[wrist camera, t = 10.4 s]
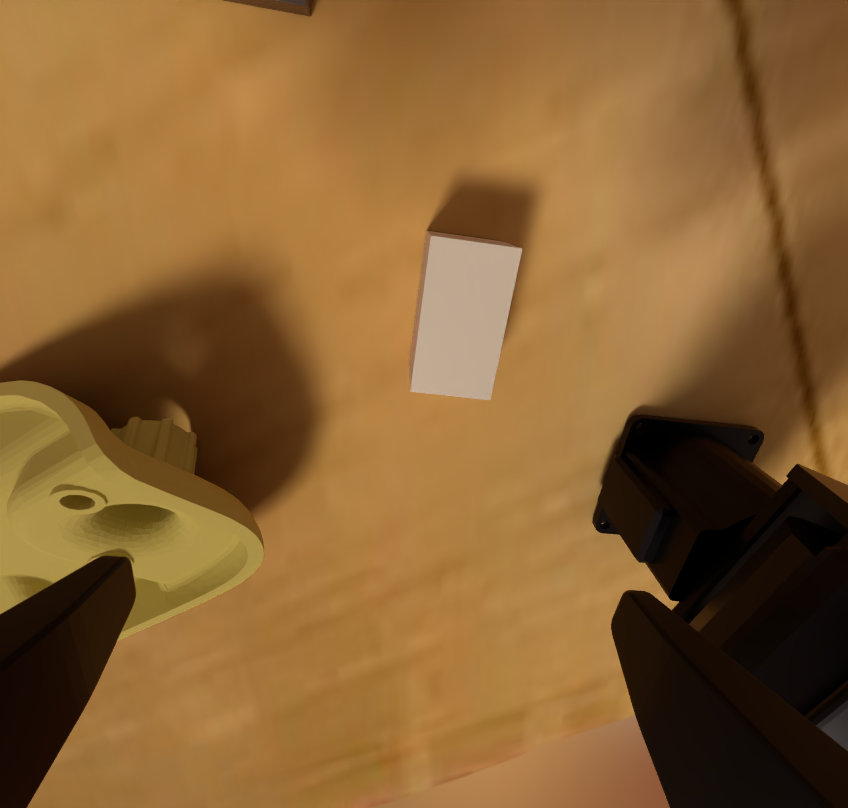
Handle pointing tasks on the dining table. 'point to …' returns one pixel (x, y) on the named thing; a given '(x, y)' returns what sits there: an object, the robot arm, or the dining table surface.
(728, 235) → the dining table surface
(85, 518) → the plastic component
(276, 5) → the chassis
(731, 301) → the dining table surface
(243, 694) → the dining table surface
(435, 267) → the white rectangular block
